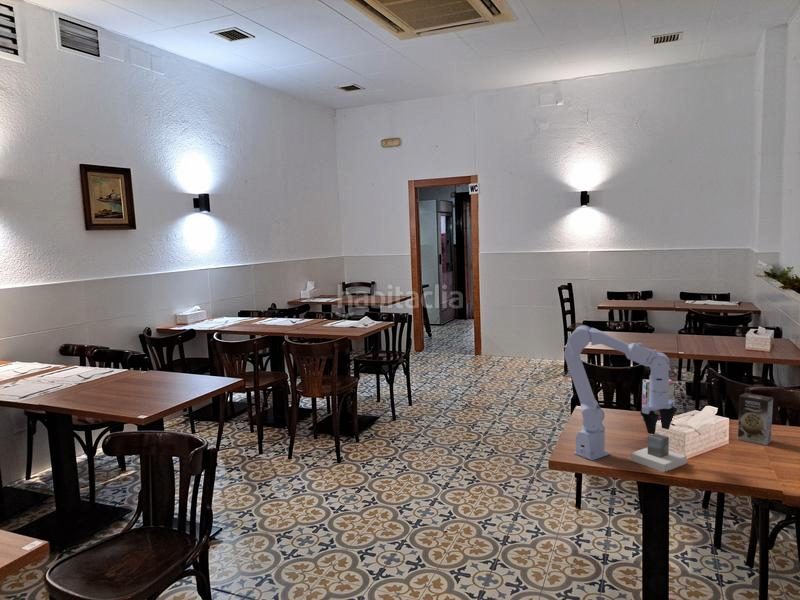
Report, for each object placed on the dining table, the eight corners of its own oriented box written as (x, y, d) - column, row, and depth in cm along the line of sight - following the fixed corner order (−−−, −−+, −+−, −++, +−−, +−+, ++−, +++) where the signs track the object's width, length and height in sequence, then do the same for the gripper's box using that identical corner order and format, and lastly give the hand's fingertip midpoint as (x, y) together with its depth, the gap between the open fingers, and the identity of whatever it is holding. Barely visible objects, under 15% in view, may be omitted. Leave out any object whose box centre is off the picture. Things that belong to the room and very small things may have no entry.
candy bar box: (645, 422, 223) (645, 382, 221) (641, 418, 228) (641, 379, 226) (674, 422, 222) (675, 382, 220) (670, 418, 227) (670, 378, 225)
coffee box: (737, 439, 202) (738, 395, 200) (743, 435, 206) (744, 392, 204) (766, 445, 195) (767, 400, 193) (772, 441, 199) (773, 396, 198)
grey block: (660, 458, 181) (660, 440, 181) (647, 453, 185) (647, 436, 184) (668, 454, 184) (668, 437, 183) (655, 450, 187) (656, 433, 187)
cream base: (664, 472, 176) (664, 464, 176) (630, 460, 186) (630, 453, 186) (686, 463, 182) (686, 455, 182) (653, 452, 193) (653, 445, 192)
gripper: (656, 396, 175) (655, 439, 176) (683, 389, 182) (683, 429, 184) (636, 392, 181) (636, 432, 182) (663, 384, 188) (663, 424, 190)
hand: (658, 431), depth 184 cm, fingers open, 7 cm apart
